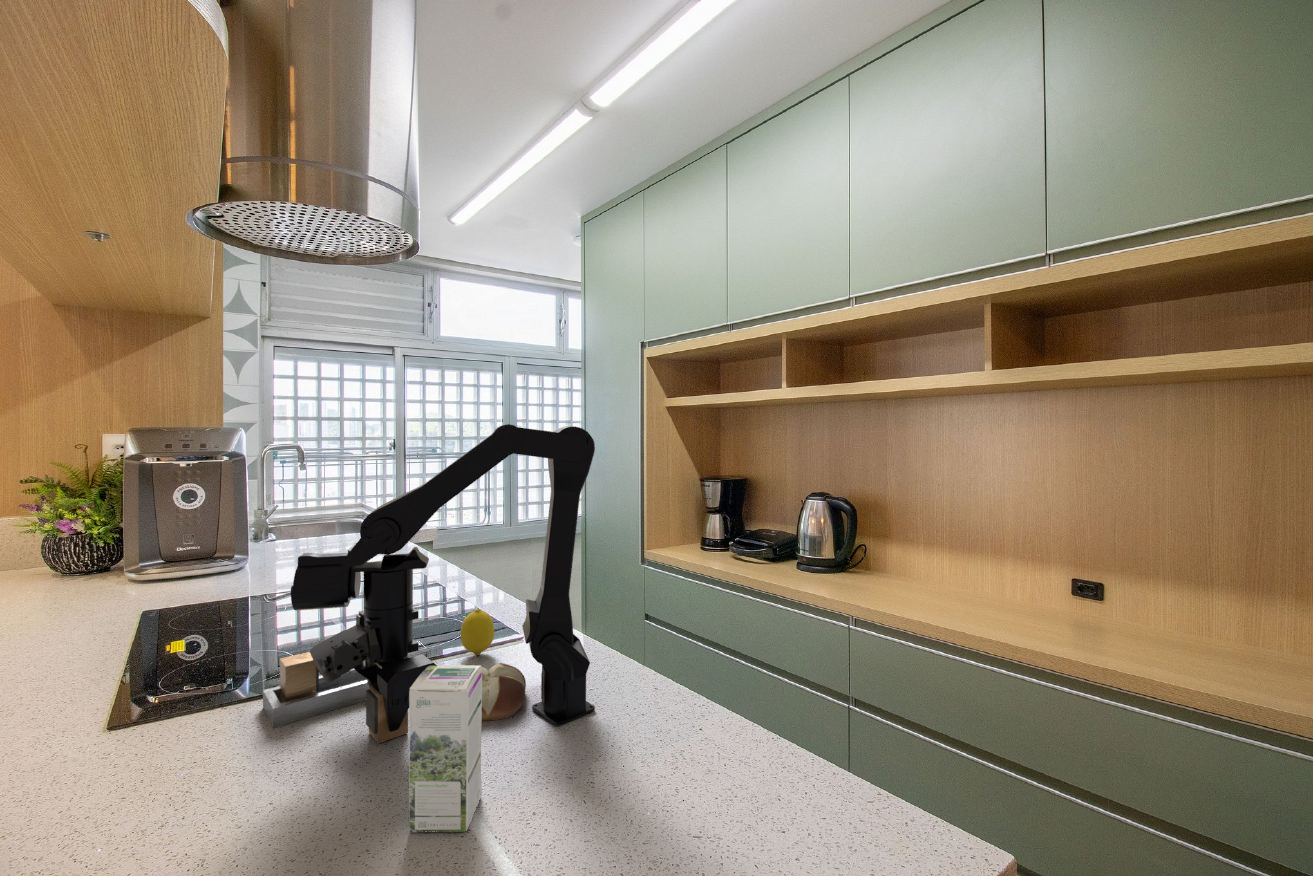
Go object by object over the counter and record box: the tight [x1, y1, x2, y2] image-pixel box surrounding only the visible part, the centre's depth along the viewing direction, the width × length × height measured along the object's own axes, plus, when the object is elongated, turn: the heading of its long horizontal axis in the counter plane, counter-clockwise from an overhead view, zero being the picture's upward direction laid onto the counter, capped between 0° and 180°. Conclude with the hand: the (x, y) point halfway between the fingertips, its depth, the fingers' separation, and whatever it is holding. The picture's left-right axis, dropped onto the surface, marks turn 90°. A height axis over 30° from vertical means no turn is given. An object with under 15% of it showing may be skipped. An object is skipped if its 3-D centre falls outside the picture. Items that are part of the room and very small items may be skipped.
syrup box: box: [408, 665, 483, 833], centre depth 58 cm, size 6×6×14 cm
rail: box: [262, 651, 369, 728], centre depth 84 cm, size 7×19×7 cm, turn 133°
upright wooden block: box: [365, 685, 409, 744], centre depth 74 cm, size 4×4×6 cm
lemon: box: [460, 608, 495, 656], centre depth 99 cm, size 6×6×8 cm
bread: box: [481, 662, 527, 721], centre depth 82 cm, size 11×11×5 cm
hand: (388, 724), depth 74 cm, fingers closed on upright wooden block, 4 cm apart
